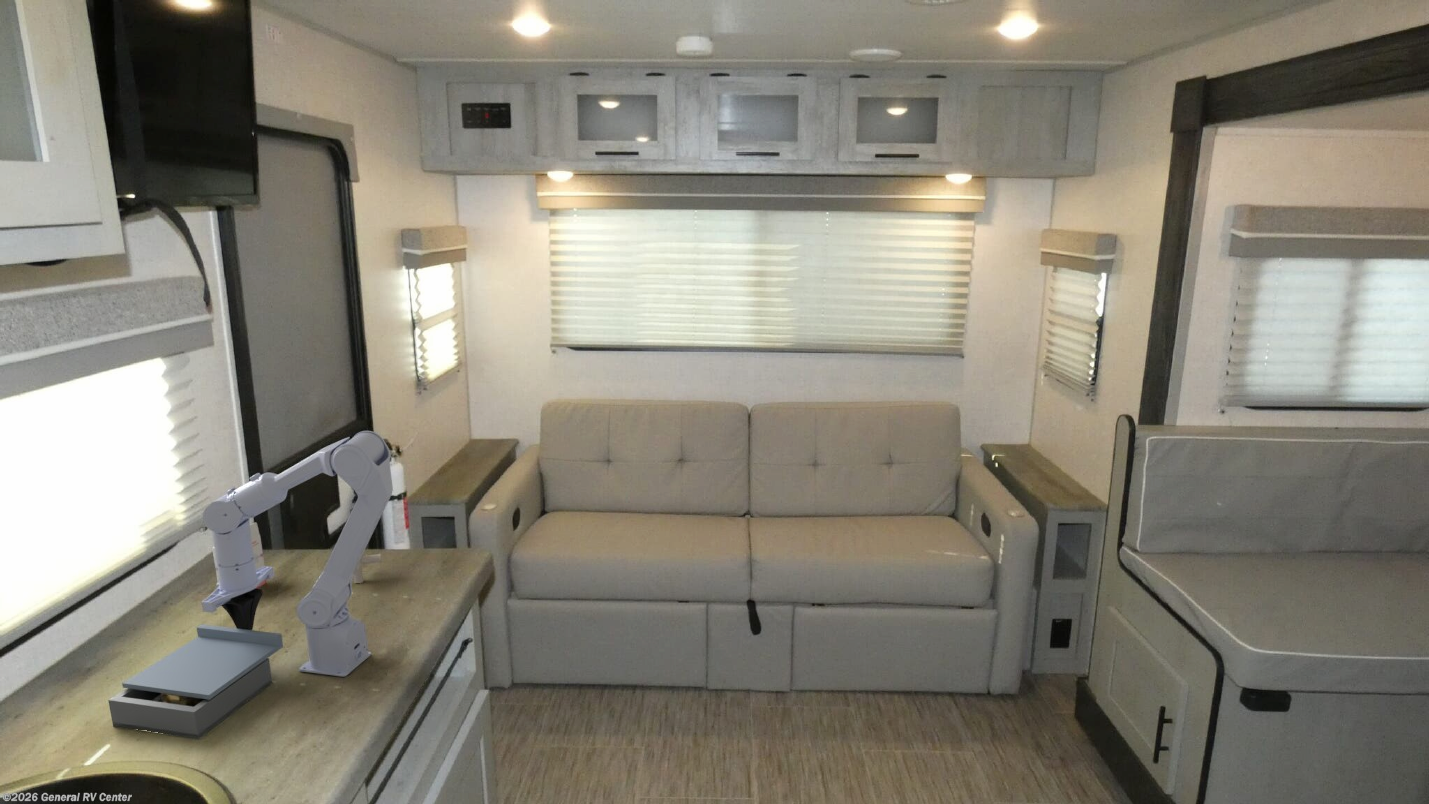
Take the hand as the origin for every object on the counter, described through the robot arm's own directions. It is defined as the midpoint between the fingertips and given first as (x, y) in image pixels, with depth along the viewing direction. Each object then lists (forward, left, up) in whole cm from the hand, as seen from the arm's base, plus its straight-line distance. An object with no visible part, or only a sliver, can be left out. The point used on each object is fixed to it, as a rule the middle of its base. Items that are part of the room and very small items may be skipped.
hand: (245, 630), depth 146 cm
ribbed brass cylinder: (0, +15, -6) cm, 16 cm away
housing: (0, +12, -7) cm, 14 cm away
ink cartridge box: (+24, -26, -7) cm, 36 cm away
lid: (0, +9, -2) cm, 9 cm away
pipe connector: (+2, -35, -7) cm, 36 cm away
